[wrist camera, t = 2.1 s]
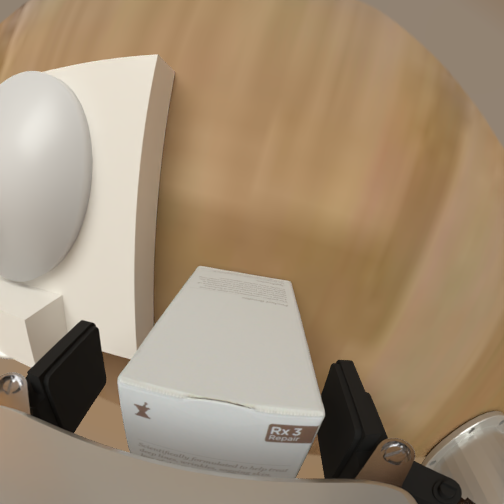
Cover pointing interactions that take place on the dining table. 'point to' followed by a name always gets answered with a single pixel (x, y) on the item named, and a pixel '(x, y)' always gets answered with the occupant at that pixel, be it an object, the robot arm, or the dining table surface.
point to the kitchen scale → (80, 202)
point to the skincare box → (224, 380)
